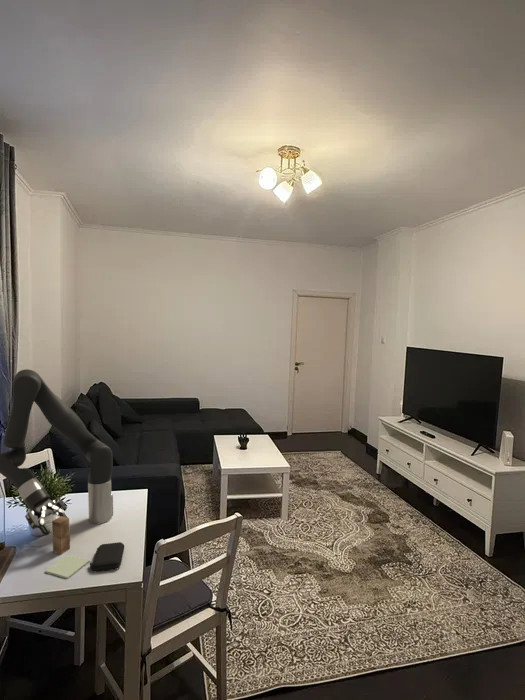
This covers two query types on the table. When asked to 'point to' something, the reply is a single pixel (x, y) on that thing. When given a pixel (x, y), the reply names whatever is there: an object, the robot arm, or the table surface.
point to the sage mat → (67, 566)
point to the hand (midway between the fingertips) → (57, 528)
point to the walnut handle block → (61, 535)
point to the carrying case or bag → (108, 557)
